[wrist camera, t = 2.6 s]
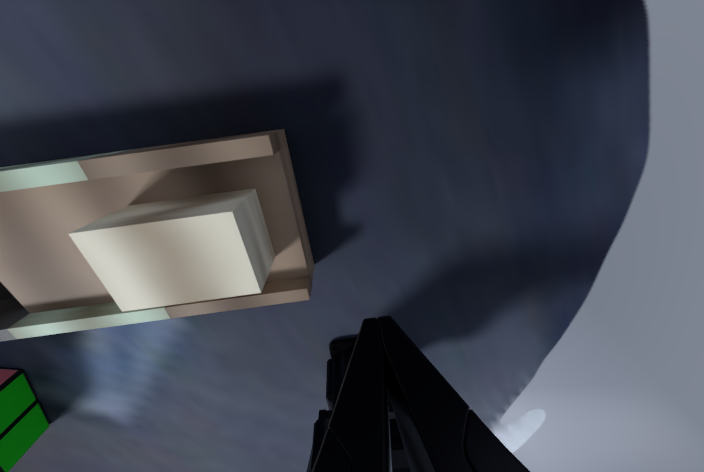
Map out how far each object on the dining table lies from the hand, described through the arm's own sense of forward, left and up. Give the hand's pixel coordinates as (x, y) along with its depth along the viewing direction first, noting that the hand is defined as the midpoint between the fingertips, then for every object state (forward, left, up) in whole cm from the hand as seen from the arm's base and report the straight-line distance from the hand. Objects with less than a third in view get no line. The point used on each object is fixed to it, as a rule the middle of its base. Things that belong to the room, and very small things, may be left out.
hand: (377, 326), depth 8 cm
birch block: (+10, 0, -10) cm, 14 cm away
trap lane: (+18, 0, -13) cm, 22 cm away
